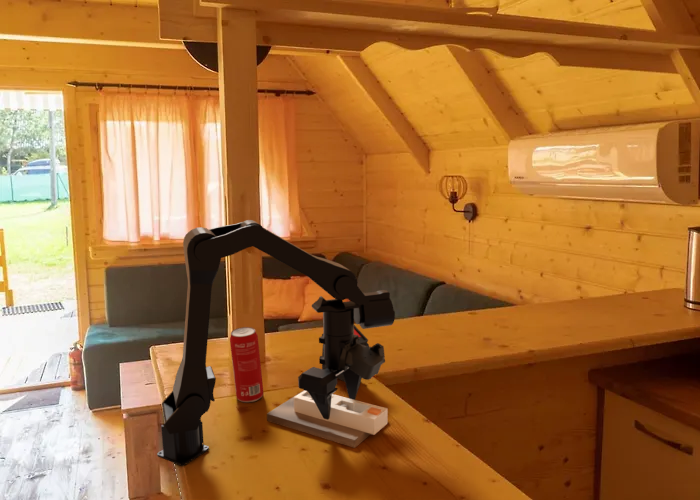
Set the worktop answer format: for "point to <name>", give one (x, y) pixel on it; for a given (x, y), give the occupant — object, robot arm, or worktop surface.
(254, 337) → the beverage can
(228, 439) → the worktop surface
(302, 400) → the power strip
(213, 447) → the worktop surface
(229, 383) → the worktop surface
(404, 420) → the worktop surface
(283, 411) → the peg board
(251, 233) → the robot arm
